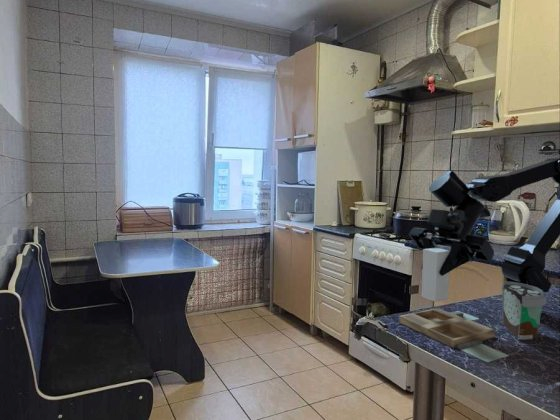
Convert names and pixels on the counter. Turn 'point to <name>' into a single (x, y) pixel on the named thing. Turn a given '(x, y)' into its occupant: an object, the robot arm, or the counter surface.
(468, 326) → the puzzle board
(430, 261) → the tall white block
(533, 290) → the food container
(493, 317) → the counter surface
